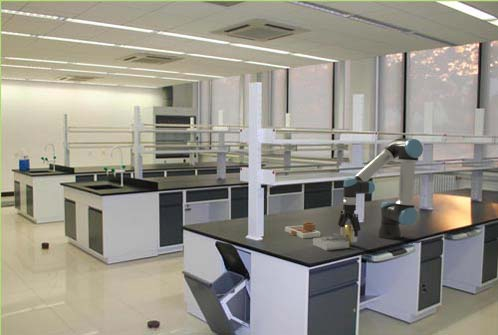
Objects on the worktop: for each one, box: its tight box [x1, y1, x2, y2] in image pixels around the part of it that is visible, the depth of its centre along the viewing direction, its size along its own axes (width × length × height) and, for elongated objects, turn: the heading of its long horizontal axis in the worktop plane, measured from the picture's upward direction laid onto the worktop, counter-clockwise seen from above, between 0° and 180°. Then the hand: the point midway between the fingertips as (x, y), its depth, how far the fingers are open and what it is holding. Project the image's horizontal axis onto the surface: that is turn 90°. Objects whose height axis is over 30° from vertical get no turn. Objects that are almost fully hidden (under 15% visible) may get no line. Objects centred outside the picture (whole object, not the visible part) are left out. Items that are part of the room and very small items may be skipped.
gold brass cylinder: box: [344, 224, 354, 247], centre depth 266 cm, size 4×4×12 cm
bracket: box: [290, 221, 316, 237], centre depth 296 cm, size 18×8×7 cm, turn 121°
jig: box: [312, 232, 350, 251], centre depth 262 cm, size 16×14×6 cm
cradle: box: [284, 224, 321, 239], centre depth 296 cm, size 13×23×3 cm, turn 24°
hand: (348, 239), depth 266 cm, fingers open, 11 cm apart
